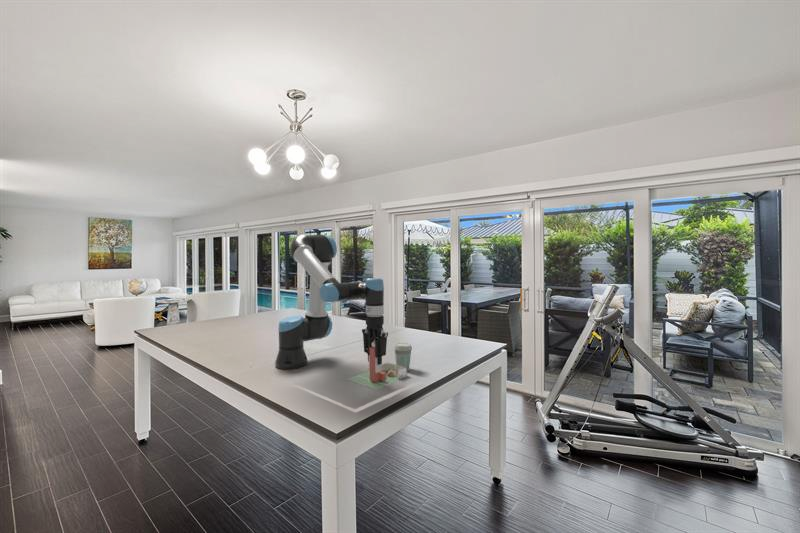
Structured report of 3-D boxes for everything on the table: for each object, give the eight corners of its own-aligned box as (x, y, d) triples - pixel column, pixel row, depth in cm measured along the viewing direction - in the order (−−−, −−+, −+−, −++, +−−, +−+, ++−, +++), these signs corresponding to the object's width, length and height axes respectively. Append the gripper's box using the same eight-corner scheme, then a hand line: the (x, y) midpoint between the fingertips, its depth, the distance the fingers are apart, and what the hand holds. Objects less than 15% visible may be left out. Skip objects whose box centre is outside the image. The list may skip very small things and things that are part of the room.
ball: (391, 373, 156) (386, 378, 154) (389, 367, 155) (384, 373, 153) (397, 375, 154) (392, 380, 152) (395, 369, 153) (390, 375, 151)
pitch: (346, 381, 149) (346, 379, 149) (369, 373, 159) (369, 370, 159) (376, 392, 137) (376, 389, 137) (399, 382, 148) (399, 380, 148)
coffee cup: (390, 369, 165) (390, 344, 164) (402, 365, 171) (402, 341, 171) (403, 374, 159) (403, 348, 159) (415, 369, 165) (415, 344, 165)
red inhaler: (366, 379, 147) (366, 340, 147) (374, 376, 151) (374, 338, 150) (378, 383, 143) (378, 343, 142) (386, 380, 146) (386, 341, 146)
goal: (377, 376, 156) (377, 365, 156) (386, 372, 161) (386, 361, 161) (398, 382, 148) (398, 370, 148) (406, 378, 153) (406, 367, 153)
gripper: (354, 314, 148) (355, 369, 148) (382, 318, 137) (382, 377, 138) (367, 312, 153) (367, 364, 154) (395, 316, 143) (395, 372, 144)
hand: (374, 370), depth 146 cm, fingers closed on red inhaler, 3 cm apart
